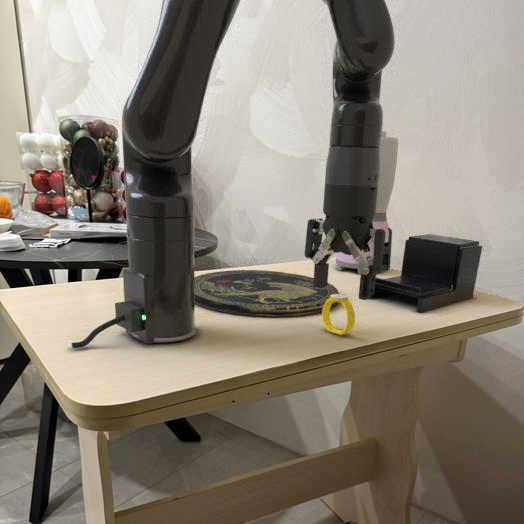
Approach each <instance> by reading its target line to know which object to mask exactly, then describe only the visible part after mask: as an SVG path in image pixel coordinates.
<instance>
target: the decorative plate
mask: <svg viewBox="0 0 524 524" xmlns="http://www.w3.org/2000/svg"><path fill="white" fill-rule="evenodd" d="M194 281H195V305H198V306H201V307H203V308H206V309H210V310H214V311H218V312H222V313H228V314H234V315H242V316H253V317H270V318H272V317H295V316H306V315H307V316H308V315H311V314H319V313H322V311H323V306H324V304H325V302H326V301H327V300H328V299H329V298H330V296H331V295H332V294H340V293H339V291H338V289H337V287H335V286H334V285H333V284H332V283H329V282H328V283H327V286H326V287H324V288H316V287H315V283H314V277H312V276H309V275H302V274H298V273H292V272H286V271H285V272H284V271H277V270H276V271H275V270H257V269H236V270H221V271H213V272H208V273H204V274H199V275H197V276H194ZM338 303H339V302H334V301H333V303H332V305H331V307H330V309H332V308H334V307H335V306H336V305H338Z"/></svg>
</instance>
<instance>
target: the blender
mask: <svg viewBox="0 0 524 524" xmlns="http://www.w3.org/2000/svg"><path fill="white" fill-rule="evenodd" d="M398 149H399V139H398V137H394V136H393V137H391V136H387V131H386V130H382V136H381V146H380V174H379V183H378V193H377V203H376V213H375V215H374V217H373V221H372V222H373V227H374V228H375V229H382V228H390V225H389V223H388V218H387V211H388V207H389V204H390V199H391V196H392V192H393V189H394V184H395V179H396V177H395V176H396V171H397V163H398ZM372 239H373V238H371V239H370V241H369V243H370V245H371V247H372V249H373V251H374V243H373V242H372ZM361 252H363V253H364V251H363V250H362V251H361ZM335 264H336V270H338V271H343V269H344V268H349V269H356V270H357V274H358V275H361V274H363V273H362V270H361V268H360V266H359V264H358V262H356V261H355V260H354V258H353V256H352V255H346V254H344V253H342V252H339V253H336V258H335Z"/></svg>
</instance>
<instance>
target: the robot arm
mask: <svg viewBox="0 0 524 524" xmlns="http://www.w3.org/2000/svg"><path fill="white" fill-rule="evenodd" d="M240 2H241V0H162V2H161V11H160V15H159V20H158V24H157V28H156V31H155V34H154V37H153V40H152V43H151V46H150V48H149V51H148V53H147V55H146V58H145V59H144V62H143V65H142V67H141V70H140V72H139V74H138V77H137V79H136V81H135V83H134V85H133V88H132V89H131V91H130V93H129V95H128V96H127V98H126V100H125V103H124V105H123V108H122V112H121V113H122V114H121V137H122V138H121V140H122V141H121V142H122V157H123V158H122V160H123V177H124V180H123V182H124V199H125V213H126V214H125V217H126V218H125V219H126V243H127V262H128V268H124V269H123V270H122V281H123V301H119V302H115V303H114V310H115V318H113V319H110V320H108V321H106V322H104V323H102V324H101V325H99V326H97V327H96V328H94V329H93V330H92V331H91V332H90V333H89V334H88V336H87V337H85V338H84V339H83V340H81V341H76V342H71V348H72V349H80V348H83V347H85V346H88V345H89V344H90V343H91V342H92V341H93V340H94V339H95V338H96V337H97V336H98V335H99V334H101V332H103V331H105V330H107V329H109V328H110V327H113V326H115V325H117V326H119V327H120V328H123V329H125V334H127V335H129V336H131V337H132V338H134V339H137V340H139V341H140V342H142V343H144V344H146V345H149V344H153V343H154V344H155V343H163V344H164V343H175V342H180V341H186V340H188V339H191V338H192V337H194V336H195V335H196V325H195V323H196V321H195V320H196V319H195V318H196V317H195V316H196V315H195V314H196V313H195V311H196V308H195V305H196V303H195V281H194V277H195V212H196V211H195V194H194V187H193V177H192V173H193V172H192V170H193V169H192V168H193V167H192V146H193V144H194V141H195V139H196V136H197V132H198V127H199V124H200V119H201V114H202V110H203V105H204V101H205V96H206V93H207V89H208V85H209V81H210V77H211V73H212V70H213V66H214V63H215V60H216V57H217V54H218V52H219V50H220V47H221V45H222V43H223V41H224V39H225V37H226V36H227V35H226V34H227V32H228V31H229V28H230V26H231V24H232V21H233V19H234V18H235V15H236V12H237V11H238V8H239V5H240V4H241V3H240ZM321 2H323V4H325V5H326V6H327V9H328V13H329V15H330V19H331V22H332V25H333V30H334V33H335V37H336V41H335V44H334V48H333V55H332V72H331V73H332V76H331V78H332V80H331V81H332V112H331V118H330V131H329V146H328V153H327V158H326V163H325V176H324V177H325V178H324V191H323V205H322V206H323V207H322V212H323V214H324V215H325V217H324V219H323V218H321V217H320V218H310V219H308V221H307V227H306V234H305V245H304V257H305V258H306V259H310V260H312V262H313V264H314V267H313V278H314V283H315V287H316V288H324V287H326V286H327V283H329V266H330V263H328V262H329V260H330V259H332V257H333V255H334V254H337V253H339V252H342V253H344V254H346V255H352V256H353V258H354V260H355V261H356V262H358V264H359V266H360V268H361V270H362V273H363V274H360V277H359V288H358V299H359V300H362V301H366V300H369V299H371V296H372V295H373V294H374V290H375V289H374V288H375V280H376V277H377V275H378V274H379V273H381V272H388V271H389V270H390V268H391V257H392V241H393V230H392V228H391V227H389V228H382V229H375V228H374V227H373V222H372V221H373V217H374V215H375V213H376V203H377V193H378V183H379V174H380V146H381V136H382V131H383V124H384V112H383V111H384V110H383V106H382V104H381V101H380V99H381V89H382V88H381V87H382V75H383V70H385V68H386V67H387V66H388V65H389V63H390V61H391V59H392V57H393V55H394V51H395V45H396V44H395V41H396V40H395V30H394V26H393V20H392V17H391V15H390V12H389V8H388V5H387V3H386V0H321ZM323 235H324V236H325V238H323ZM371 238H373V239H372V242H373V243H374V251H373V249H372V247H371V245H370V243H369V241H370V239H371ZM362 250H363V251H364V253H363V252H361V251H362Z"/></svg>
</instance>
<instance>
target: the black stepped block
mask: <svg viewBox="0 0 524 524" xmlns="http://www.w3.org/2000/svg"><path fill="white" fill-rule="evenodd" d="M404 244H405V245H404V249H403V256H402V257H403V258H402V264H401V272H400V275H398V276H393V277H388V278H381V277H377V276H376V280H375V288H374V289H375V290H374V294H373V295H372V296H371V298H376V297H380V296H381V297H382V296H384V295H389V294H393V293H397V294H402V295H406V296H409V297H412V298H418V299H417V306H416V313H420V314H421V313H424V312H428V311H430V310H431V311H432V310H435V309H438V308H441V307H444V306H448V305H451V304H455V303H458V302H462V301H466V300H469V299H473V297H474V294H475V293H474V292H475V287H476V283H477V282H476V281H477V276H478V271H479V267H480V261H481V256H482V250H483V245H480V241H479V240H472V239H466V238H459V237H453V236H445V235H440V234H432V233H427V234H419V235H411V236H408V239H406V240H405V243H404ZM371 298H370V299H371Z"/></svg>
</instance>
